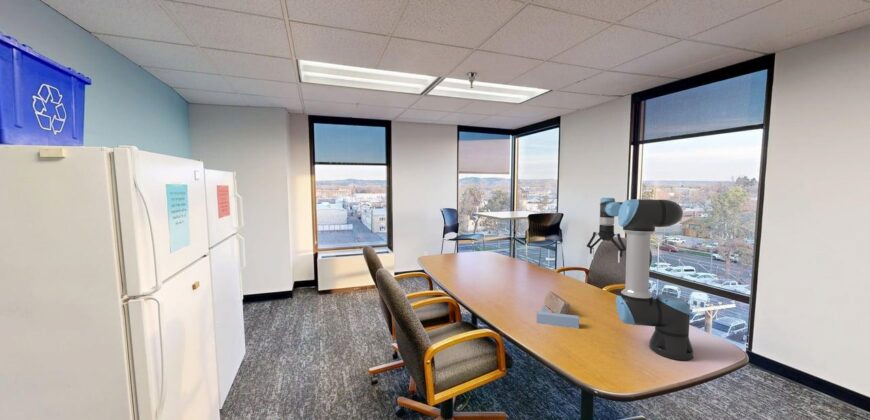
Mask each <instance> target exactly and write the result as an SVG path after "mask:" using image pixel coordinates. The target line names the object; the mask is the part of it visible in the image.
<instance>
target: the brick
mask: <svg viewBox="0 0 870 420" xmlns="http://www.w3.org/2000/svg"><path fill="white" fill-rule="evenodd" d="M543 304H544V307H548V309H550V310H551V312H552V313H559V314H567V315H568V313H569V311H570V308H571V303H569V302H567V301H566V300H565V299H563V298H562V297H561V296H559V295H558V294H556V293H555V292H553V291H550V290H548V291H547V293H546V295H545V297H544V302H543Z"/></svg>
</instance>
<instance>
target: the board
mask: <svg viewBox="0 0 870 420" xmlns="http://www.w3.org/2000/svg"><path fill="white" fill-rule="evenodd" d="M541 307H542V308H541V310H536V324H539V323H540V325H547V324H548V326H556V327H562V326H563V327H565V328H570V327H571V329H578V328H579V329H580V317H579V315H576V314H575V315H574V314H568V313H567V314H559V313H554V312H551V311H550V312H549V307H547V306H545V305H544V306H543V305H542V306H541Z"/></svg>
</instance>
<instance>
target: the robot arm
mask: <svg viewBox="0 0 870 420" xmlns="http://www.w3.org/2000/svg"><path fill="white" fill-rule="evenodd" d="M599 202H600V203H599V226H598V232H597V231H593V233H592V235H591V238H590V240H589V241H588V243H587V244H586V248H589V254H590V255H591V260H594V259H595V258H594V257H595V248H594V246H596V245H597V244H598V243H599V242H600V241H601V240H602V241H607V242H610V241H611V242H612V244H613V245H614V246H615V247H616V248H617V249H618V251H617V263H618V264H620V261H621V258H623V253H624V252H626V254H625V255H626V256H625V279H624V280H625V283H624V284H625V288H624V289H622V290H621V291H620V295H617V296H616V297H615V307H616V311H617V315H618V318H619V320H620V321H621V322H622V323H623V324H626V325H627V324H628V325H632V326H642V327H643V326H644V327H654V331H653V333H652V335H651V337H650V340H649V345H648V346H649V348H650V350H651V351H653V352H654V353H655V354H658V355H660V356H662V357H665V358H668V359H673V360H679V361H688V360H692V359H693V358H694V349H693V346H692V342H691V340H690V336H689V335H690V321H691V307H690V306H691V305H690V303H688V302H687V301H686V300H684V299H682V298H679V297H676V296H673V295H669V294H664V293H663V294H662V293H660V294H656V295H655V298H654V297H653V295H654V294H652V293H651V292H650V291H649V288H650V287H649V283H650V262H651V261H650V257H651V255H650V254H651V235H653V234H654V233H655V232H656V228H666V227H671V226H674V225H676V224H677V223H679V222H680V221H681V220H682V218H683V214H684V211H683V208H682V207H681V205H680V204H679V203H677V202H676V201H672V200H668V199H645V198H644V199H640V198H639V199H638V198H635V199H626V200H624V201H616V199H615V197H601V198H600V201H599ZM615 217H617V220H618V221H617V222H618V225H619V226H620V227H622V231H623V232H624V233H625V234H626V245H625V243H624V241H623V240H622V238H621V234H620V232H619V233H615ZM597 236H598V237H599V238H597V240H596V241H595V242H594V243H593V241H594V239H595V238H596V237H597ZM614 237H616V238H617V239H618V242H619V243H618V242H617V241H616V240H615V238H614Z"/></svg>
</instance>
